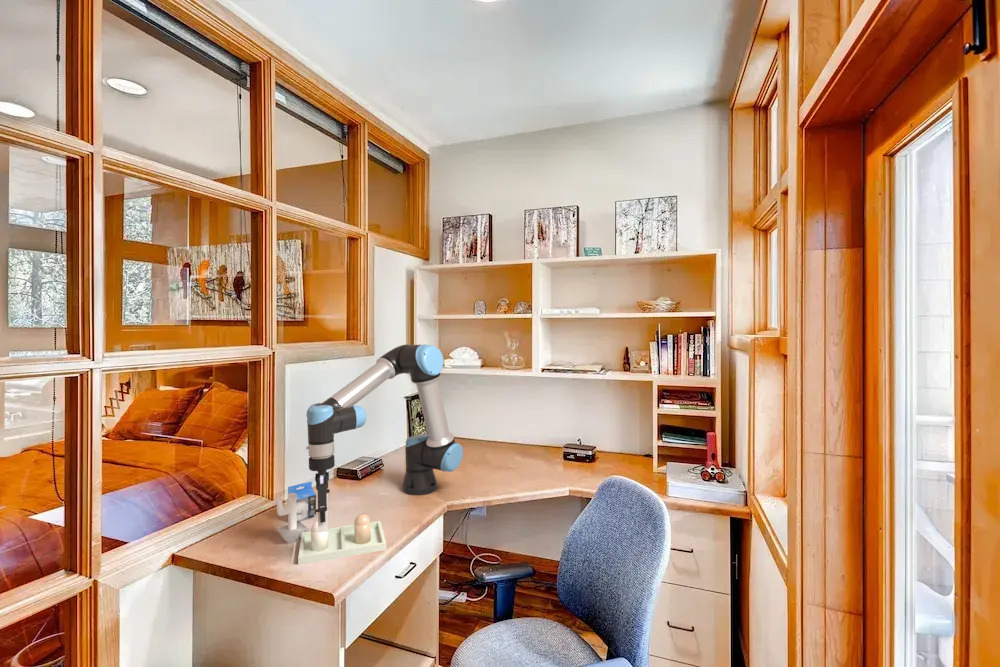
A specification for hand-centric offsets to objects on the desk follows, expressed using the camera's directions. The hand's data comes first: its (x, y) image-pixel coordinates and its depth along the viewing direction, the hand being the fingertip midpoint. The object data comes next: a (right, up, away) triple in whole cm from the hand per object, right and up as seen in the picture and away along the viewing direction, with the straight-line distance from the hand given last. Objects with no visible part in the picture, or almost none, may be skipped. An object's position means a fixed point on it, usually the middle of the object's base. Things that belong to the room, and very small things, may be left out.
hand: (323, 522), depth 144 cm
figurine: (-13, -9, +8) cm, 18 cm away
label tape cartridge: (-17, -9, +24) cm, 31 cm away
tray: (+6, -9, +2) cm, 10 cm away
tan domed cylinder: (+11, -7, +4) cm, 14 cm away
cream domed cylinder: (-1, -8, -1) cm, 8 cm away
